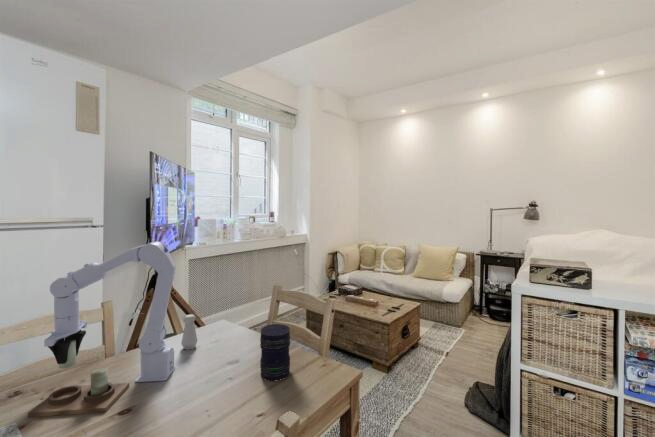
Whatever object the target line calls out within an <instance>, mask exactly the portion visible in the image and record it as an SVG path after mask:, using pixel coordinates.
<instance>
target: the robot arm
mask: <svg viewBox="0 0 655 437" xmlns="http://www.w3.org/2000/svg"><path fill="white" fill-rule="evenodd" d="M129 262H134V263H139V262H142V263H144V264H146V265H148V266H150V267H152V268H153V270H155V272H156V273H157V277H156V282H155V283H156V284H155V286H154V288H155V289H154V294H153V296H152V302H151V306H150V311H149V316H148V320H147V324H146V327H145V329H144V334H143V335H142V337H141V338H140V340H139V342H138V348H139V350H140V375H138V377H137V378H136V379H135V380H134V382H135V383H143V382H144V383H147V382H162V381H163V382H164V381H167V379H169V377H170V376H171V375H172V373H173V372H174V370H175V369H176V366H175V349H174V348H173V347H169V346H167V345H166V342H165V341H164V339H165V337H166V335H167V329H166V315H167V311H168V305H169V302H170V297H171V292H172V286H173V282H174V278H175V272H176V265H175V263H174V260H173V258H172V256H171V254H170V250H169V248H168V247H167V246H166V245H165V244H164V243H163V242H161V241H157V240H156V241H151V242H149V243H146V244H142V245H139V246H136V247H133V248H130V249H128V250H126V251H124V252H122V253H120V254H118V255H116V256H114V257H112V258H110V259H108V260H106V261H104V262H102V263H99V262H92V263H90V262H87V263H85V264H84V265H83V267H81V268H79V269H76V270H75V271H73V270H72V271H69V272H67V275H65V276H62V277H59V278H57V279H56V280H53V281H52V282H51V283H50V286H49V292H50V294H51V295H52V296H53V306H54V307H53V309H54V311H53V312H54V314H53V316H54V319H53V320H54V321H53V323H54V329H53V330H51V331H50V335H49V336H48V337H47V338H45V339H44V342H43V344H44V346H43V347H46V348H48V349H50V351H51V352H52V354H53V355H54V357H55V358H54V359H55V361H56V364H57V365H59V364H65V363H66V362H67V358H68V349H69V346H70V343H71V341H72V340H76V357H77V356H78V354H79V350H80V348H81V343H82V341H83V339H84V337H85V336H86V335H87V330H85V329H86V328H87V327H88V321H87V320H83V321H80V298H79V297H80V296H79V291H80V290H82V289H84V288H87V287H89V286H90V285H93V284H94V283H95V284H96V283H97V282H99V281H101V280H103V279H104V278H105V277H106V275H107V273H108V272H109V271H112V270H114V269H116V268H119V267H121V266H123V265H125V264H127V263H129ZM82 329H84V330H82Z"/></svg>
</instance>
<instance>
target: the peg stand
mask: <svg viewBox="0 0 655 437" xmlns="http://www.w3.org/2000/svg"><path fill="white" fill-rule="evenodd" d="M128 388H130V382H121V383H111V382H109V368H107V367H99V368H97V369H95V370H93V371H91V373H90V384H87V385H86V384H85V385H82V384H81V385H76V384H74V385H67V386H61V387H60V388H59V389H56V390H55V391H53V392H52V393H50V394H49V395H48V397H46V398H45V399H44V400H42V401H41V402H39V404H37V405H36V406H35V407H33V408H32V409H31V410H30V411H28V412H27V417H28V418H36V417H37V418H38V417H53V416H66V415H80V414H81V415H82V414H95V413H96V414H99V413H107V411H108V410H109V409H110V408H112V406H113V405H114V404H115V403H116V402H117V401H118V400H119V399H120V398H121V396H123V394H124V393H125V392H127V390H128Z"/></svg>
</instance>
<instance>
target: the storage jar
mask: <svg viewBox="0 0 655 437" xmlns="http://www.w3.org/2000/svg"><path fill="white" fill-rule="evenodd" d="M290 329H291V328H290V327H289V326H288V325H285V324H281V323H279V324H278V323H276V324H269V325H265V326H263V327H262V328H260V340H259V341H260V345H259V346H260V350H261V357H260V364H259V366H260V367H259V368H260V378H261V379H262V378H264V379H266V380H269V381H268V382H276V381H275V380H280V379H283V378H285V377H287V376H288V375H289V376H290V374H289V373H290V368H291V355H290V346H291V333H290V331H291V330H290ZM289 376H288V377H289ZM288 377H287V378H288ZM264 379H263V380H264ZM285 379H286V378H285ZM266 380H265V381H266ZM283 380H284V379H283ZM280 381H281V380H280Z"/></svg>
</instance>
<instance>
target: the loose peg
mask: <svg viewBox="0 0 655 437" xmlns="http://www.w3.org/2000/svg"><path fill="white" fill-rule="evenodd" d="M76 364H77V356H76V340H72V341H71V343H70V346H69V349H68V358H67V362H66V363H65V364H58V369H68V368H71V367H73V366H75V365H76Z"/></svg>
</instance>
